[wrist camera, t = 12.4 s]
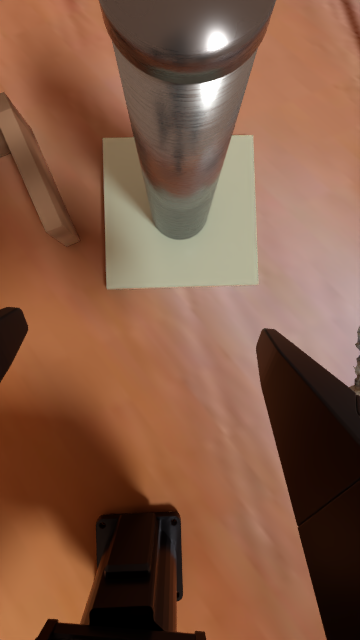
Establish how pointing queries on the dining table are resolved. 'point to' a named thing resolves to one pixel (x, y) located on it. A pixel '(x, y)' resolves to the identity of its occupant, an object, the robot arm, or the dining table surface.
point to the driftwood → (357, 369)
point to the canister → (184, 94)
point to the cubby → (34, 173)
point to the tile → (169, 254)
